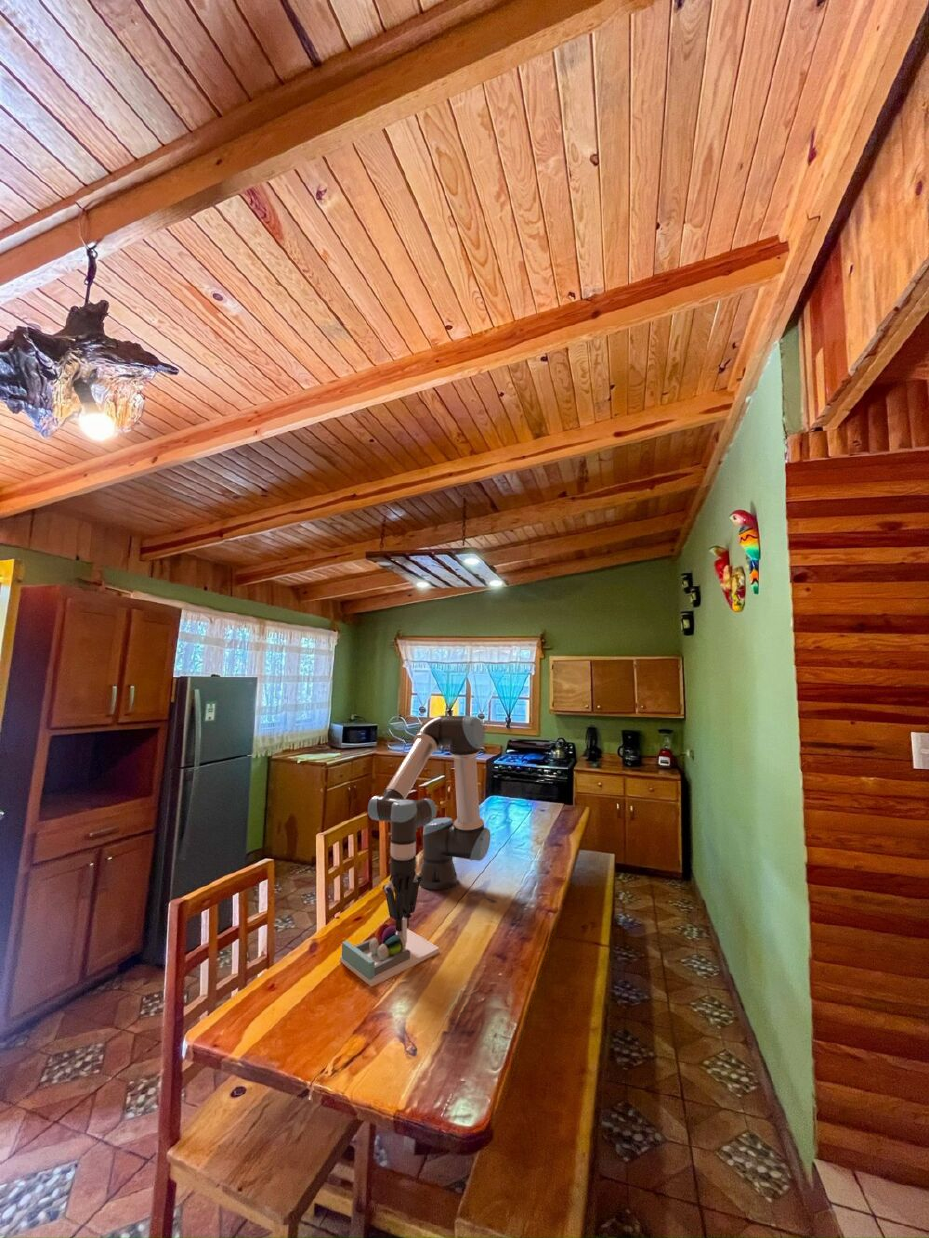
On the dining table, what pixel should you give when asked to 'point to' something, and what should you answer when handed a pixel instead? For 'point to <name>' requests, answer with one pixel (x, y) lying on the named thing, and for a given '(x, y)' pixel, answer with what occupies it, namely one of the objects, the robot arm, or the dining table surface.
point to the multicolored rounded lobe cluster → (386, 942)
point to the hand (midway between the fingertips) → (401, 941)
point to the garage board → (379, 970)
